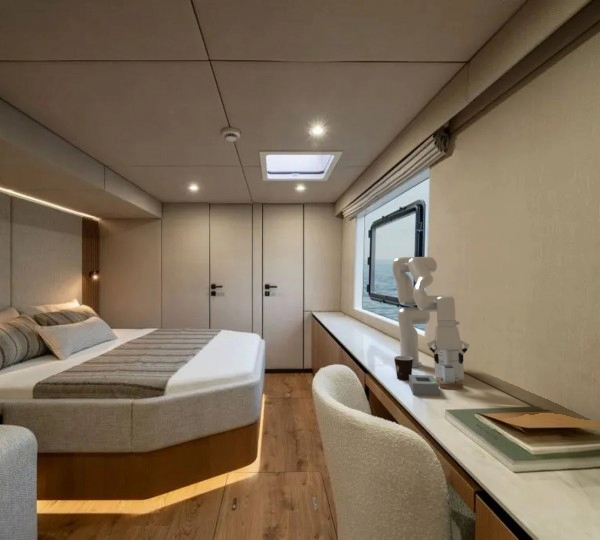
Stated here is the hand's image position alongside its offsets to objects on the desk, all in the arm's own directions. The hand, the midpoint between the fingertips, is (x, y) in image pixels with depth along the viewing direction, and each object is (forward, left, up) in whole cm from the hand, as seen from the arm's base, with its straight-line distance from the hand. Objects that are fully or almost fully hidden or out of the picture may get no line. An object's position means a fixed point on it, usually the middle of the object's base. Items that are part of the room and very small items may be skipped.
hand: (448, 363), depth 141 cm
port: (+7, -12, -10) cm, 18 cm away
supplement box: (-13, +3, -11) cm, 17 cm away
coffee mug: (-11, -18, -11) cm, 24 cm away
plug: (-1, 0, -10) cm, 10 cm away
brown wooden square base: (-1, 0, -10) cm, 10 cm away
